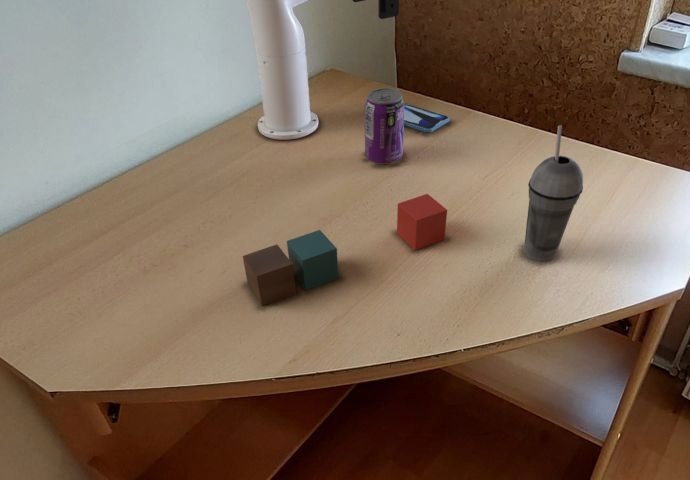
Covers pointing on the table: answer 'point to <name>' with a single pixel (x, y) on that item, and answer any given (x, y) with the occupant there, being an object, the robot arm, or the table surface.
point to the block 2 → (313, 259)
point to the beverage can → (384, 125)
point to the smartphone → (423, 118)
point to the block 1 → (269, 274)
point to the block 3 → (421, 221)
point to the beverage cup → (551, 203)
